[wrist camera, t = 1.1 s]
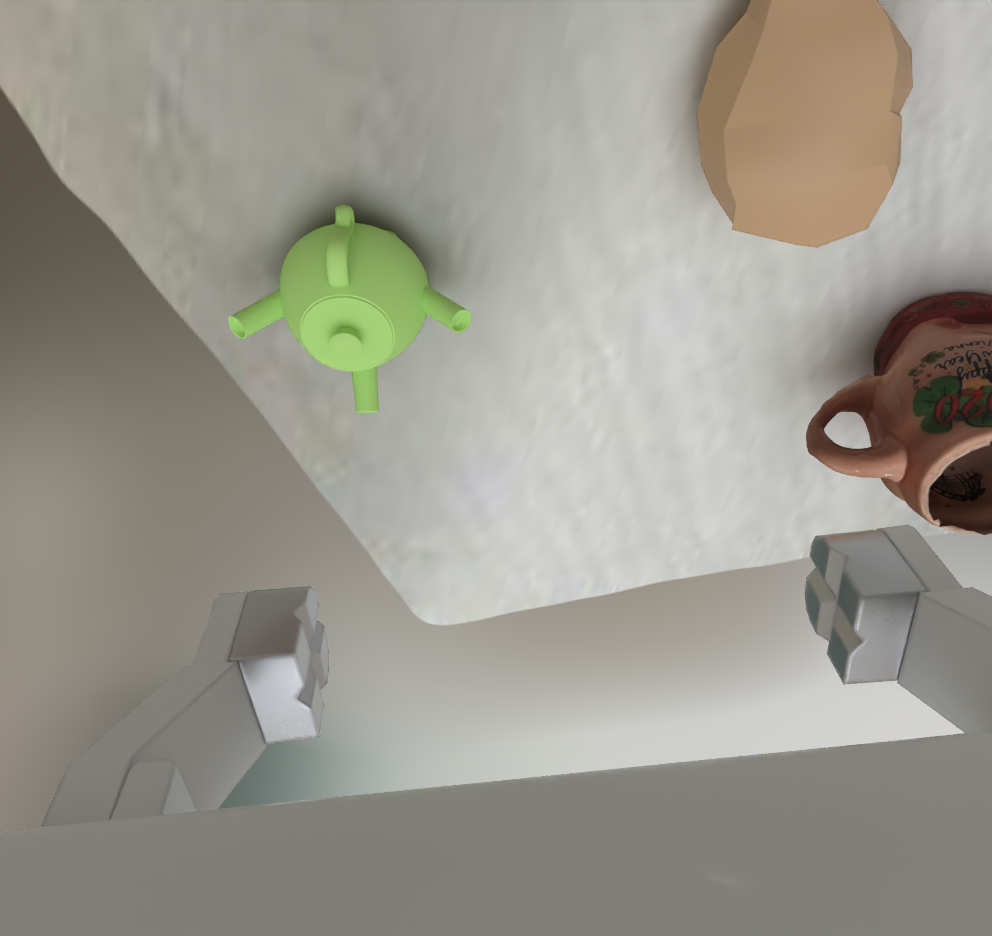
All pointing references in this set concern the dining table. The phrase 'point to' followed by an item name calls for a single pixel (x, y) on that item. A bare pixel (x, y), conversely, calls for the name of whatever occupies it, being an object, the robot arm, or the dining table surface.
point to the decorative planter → (925, 413)
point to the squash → (805, 118)
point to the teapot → (352, 301)
